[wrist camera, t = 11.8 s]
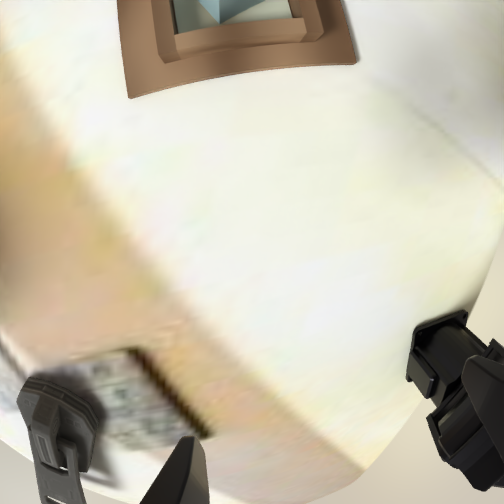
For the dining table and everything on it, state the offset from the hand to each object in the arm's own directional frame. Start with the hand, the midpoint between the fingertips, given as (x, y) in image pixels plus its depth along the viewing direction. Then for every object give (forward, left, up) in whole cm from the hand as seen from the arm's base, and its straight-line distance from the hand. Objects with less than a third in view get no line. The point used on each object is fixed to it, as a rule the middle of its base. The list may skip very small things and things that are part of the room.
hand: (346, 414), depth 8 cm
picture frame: (0, -18, -13) cm, 22 cm away
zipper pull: (+28, +19, -13) cm, 37 cm away
